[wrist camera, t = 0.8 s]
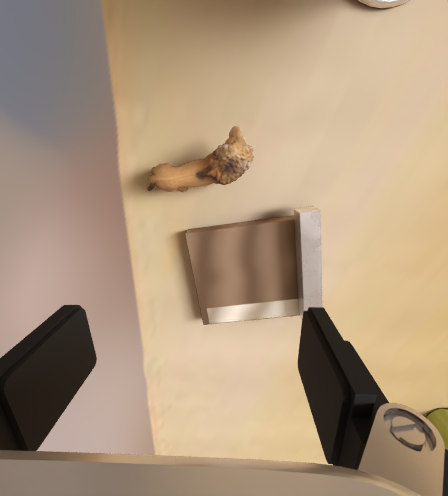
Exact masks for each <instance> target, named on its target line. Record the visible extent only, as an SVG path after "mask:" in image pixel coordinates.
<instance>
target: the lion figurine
mask: <svg viewBox="0 0 448 496" xmlns="http://www.w3.org/2000/svg"><path fill="white" fill-rule="evenodd" d="M252 151H253V147H252V146H249V145H246V143H245V141H244V139H243V133H242V131H241V130H240V128H239V127H237V126H234V127H233V128H232V129H231V131H230V133H229V139H227V140H226V142H225V144H223V145H220V146H218V148H217V149H216V150H215V151H214V152H213V153H211V154H209V155H208V156H207V157H206V158H205V159H198V160H193V161H191V162H188V163H185V164H183V165H181V166H179V167H173V166H171V165H170V164H159V165H158V166H156V167H153V168H152V169H151V172H152V173H153V175H152V176H150V177H149V178H148V180H149V181H150V182H151V184H150V186H149V187H148V191H150V190H152V189H153V188H154V185H155V183H156V185H157V186H158V187H159V188H160V189H162V190H165V191H175V190H179V191H182V192H185V191H187V187H196V186H197V187H199V186H206V185H209V184H212V183H216V184H222V185H226V184H230V183H231V182H233V181H236V180H237V179H238V178H239V177H240V176H242V174H244V173H245V171H246V170H248V169H249V167H250V164H251V162H252V161H253V158H254V156H253V154H252Z"/></svg>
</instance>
